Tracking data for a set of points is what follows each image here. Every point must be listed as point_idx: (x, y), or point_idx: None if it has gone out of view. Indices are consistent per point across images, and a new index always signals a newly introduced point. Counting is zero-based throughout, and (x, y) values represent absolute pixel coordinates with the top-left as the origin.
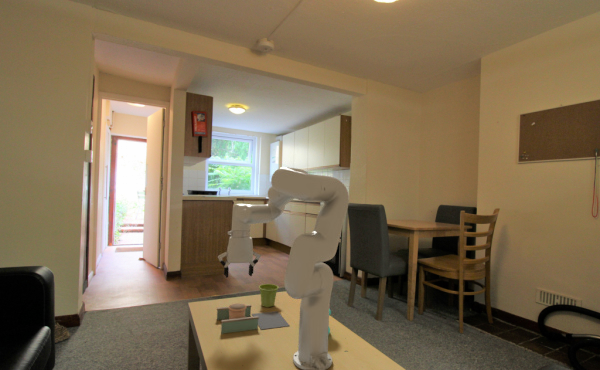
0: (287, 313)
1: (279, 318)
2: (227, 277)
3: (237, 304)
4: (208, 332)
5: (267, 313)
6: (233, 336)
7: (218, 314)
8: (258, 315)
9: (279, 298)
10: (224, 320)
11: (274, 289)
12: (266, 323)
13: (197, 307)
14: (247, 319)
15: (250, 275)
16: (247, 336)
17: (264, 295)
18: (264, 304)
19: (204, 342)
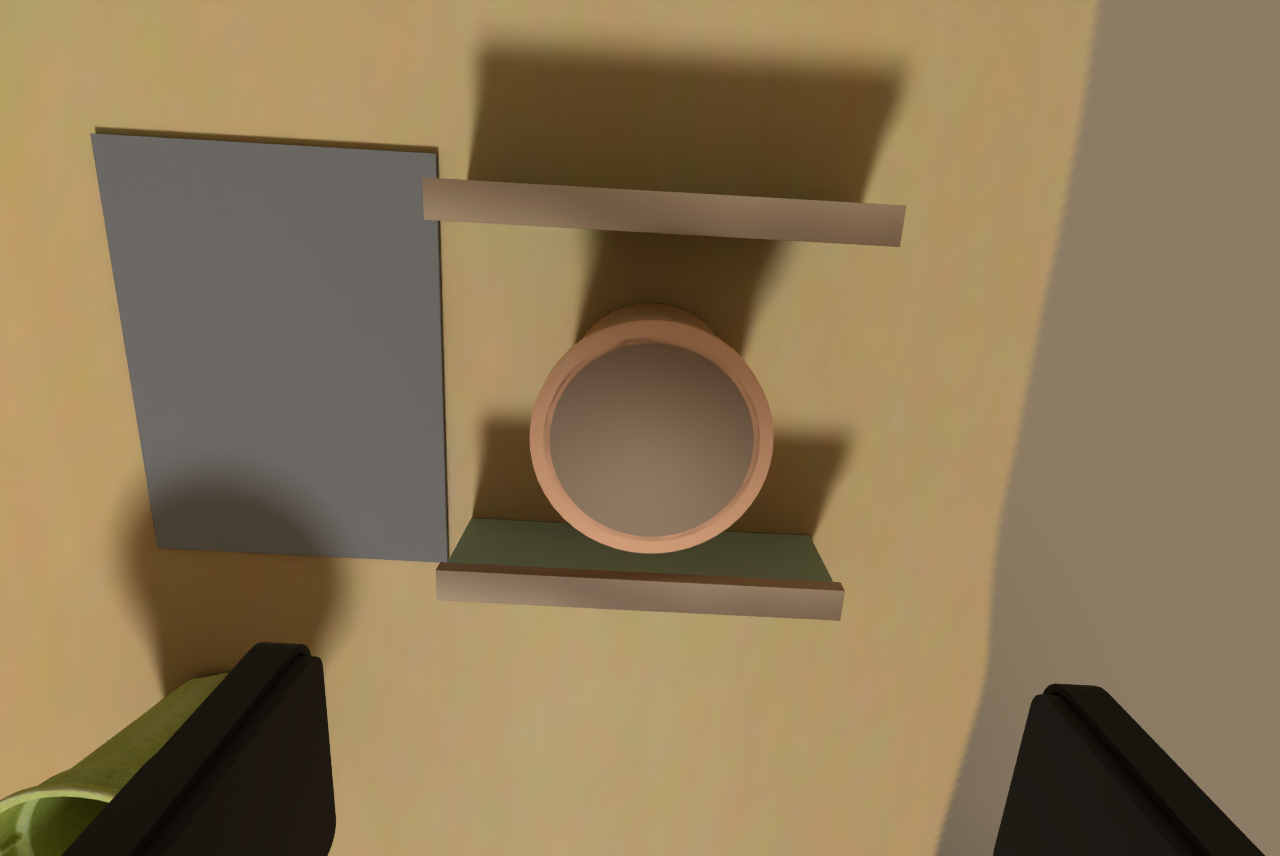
0: (61, 467)
1: (174, 357)
2: (1055, 684)
3: (635, 510)
4: (965, 283)
5: (280, 521)
6: (757, 96)
7: (811, 559)
8: (385, 503)
9: None
10: (864, 224)
11: (26, 799)
12: (343, 278)
13: (904, 850)
14: (576, 187)
15: (300, 662)
16: (617, 40)
17: None
18: None
19: (1068, 62)
